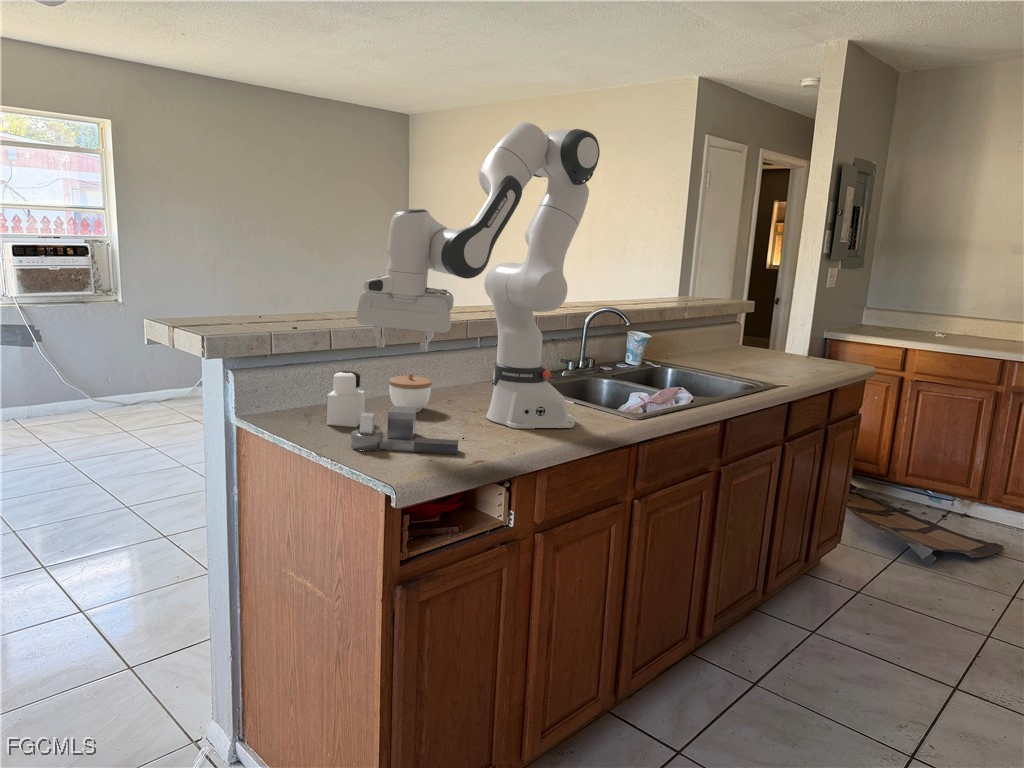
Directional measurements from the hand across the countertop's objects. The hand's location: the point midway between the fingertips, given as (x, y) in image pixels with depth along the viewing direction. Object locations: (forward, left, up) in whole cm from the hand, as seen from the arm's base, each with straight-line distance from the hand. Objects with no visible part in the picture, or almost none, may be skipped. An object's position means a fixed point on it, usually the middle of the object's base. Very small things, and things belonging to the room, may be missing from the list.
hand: (402, 349), depth 150 cm
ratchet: (-3, +11, -19) cm, 22 cm away
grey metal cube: (-1, +1, -19) cm, 19 cm away
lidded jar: (0, -23, -20) cm, 30 cm away
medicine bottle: (+13, -7, -20) cm, 25 cm away
